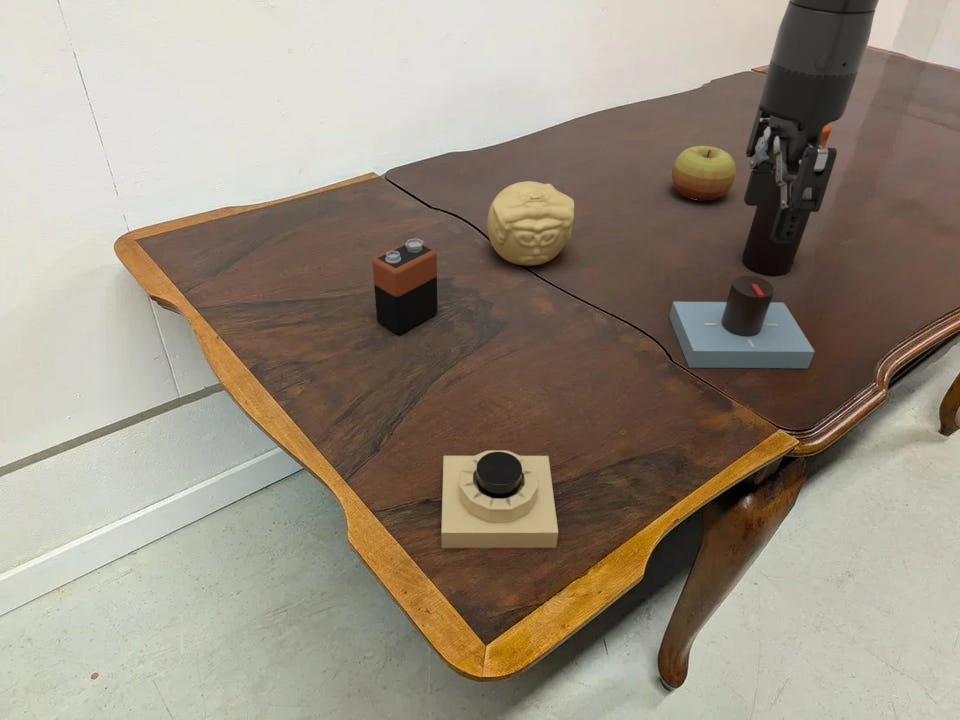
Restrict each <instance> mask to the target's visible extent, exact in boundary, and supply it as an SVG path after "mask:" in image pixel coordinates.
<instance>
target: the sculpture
mask: <svg viewBox="0 0 960 720" xmlns="http://www.w3.org/2000/svg"><path fill="white" fill-rule="evenodd" d="M491 202H492V203H491V204H490V207H489V209H488V213H487V220H486V223H487V224H486V226H487V235H488V238H489V241H490V244H491V246H492V248H493V249H494V251H495V252H496V253H497V254H498V255H499V256H500V257H501V258H502V259H503V260H505V261H507V262H509V263H511V264H514V265H520V266H530V267H532V266H533V267H534V266H538V265H539V266H540V265H543V264H545V263H548V262H550V261H552V260H553V259H554V258H556V256H558V255H559V254H560V252H561V251H562V250H563V248H564V247H565V246H566V244H567V242H568V241H570V240H571V238H572V233H573V232H572V229H573V227H574V219H575V201H574V199H573V198H572V197H570V196H568V195H567V194H564V193H563V192H561V191H560V190H557V188H555V187H554V186H553V185H552V184H551V183H542V182H538V181H531V180H530V181H519V182H515V183H512V184H510V185H508V186H506V187H505V188H503V189H502V190H501V191H500V192H499V193H498V194H497V195H496V196H495V197H494V199H493V200H492V201H491Z"/></svg>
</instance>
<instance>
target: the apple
mask: <svg viewBox="0 0 960 720" xmlns="http://www.w3.org/2000/svg"><path fill="white" fill-rule="evenodd" d="M736 172H737V167H736V163H735V161H734V159H733V157H732V155H731V154H729V153H728V152H727V151H725V150H723V149H721V148H718V147H715V146H710V145H696V146H690V147H688V148H686V149H684V150H683V151H681V153H679V154H678V156H677V157H676V159H675V160H674V162H673V165H672V168H671V179H672V183H673V186H674V188H675V190H677V191H678V192H679V194H680V195H682V196H683V197H685V196H686V197H685V198H687V197H689V198H693V199H697V200H710V201H713V200H716V198H717V199H719V198H721V197H722V196H724V195H725V194H726V193H727V192H729V190H730V189H731V188H732V186H733V184H734V182H735V177H736ZM689 198H688V199H689ZM693 199H692V200H693ZM697 200H696V201H697Z"/></svg>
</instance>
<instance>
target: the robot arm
mask: <svg viewBox="0 0 960 720" xmlns="http://www.w3.org/2000/svg"><path fill="white" fill-rule="evenodd" d="M879 2H880V0H788V4H787V7H786V9H785V12H784V15H783V16H782V19H781V21H780V25H779V28H778V31H777V34H776V37H775V42H774V44H773V45H774V46H773V49H772V52H771V58H770V61H769V64H768V69H767V72H766V76H765V80H764V84H763V88H762V90H761V91H762V92H761V95H760V99H759V104H758V107H757V112H756V114H755V118H754V122H753V125H752V129H751V131H750V132H751V133H750V134H749V135H750V136H749V139H748V144H747V146H746V150H745V156H746V157H747V158H750V160H749V169H750V170H751V171H750V175H749V179H748V182H747V186H746V190H745V193H744V197H743V201H744V203H745V204H746V205H747V206H749V207H757V206H762V205H764V204H765V203H766V200H767V197H768V193H769V190H770V187H771V183H772V180H773V176H774V173H773V172H772V171H771V170H774V169H775V168H776V184H777V185H778V186H780V188H781V199H780V206H779V209H778V212H777V215H776V219H775V222H774V225H773V228H772V232H771V235H770V239H771V240H772V241H773V243H775V244H790V243H792V242H793V241H794V240H795V237H796V234H797V231H798V228H799V225H800V222H801V219H802V216H803V213H804V212H811V213H818V212H819V211H820V210H821V207H822V204H823V200H824V197H825V194H826V191H827V187H828V185H829V181H830V177H831V174H832V171H833V168H834V165H835V162H836V158H837V154H838V151H837V148H836V147H822V146H821V139H822V132H823V128H824V127H825V126H826V125H827V124H828V125H830V124H831V123H835V122H837V121H838V120H840V119H841V118H842V117H843V116H844V115H845V111H846V109H847V105H848V103H849V100H850V97H851V94H852V91H853V88H854V85H855V82H856V79H857V76H858V74H859V70H860V67H861V64H862V61H863V59H864V55H865V52H866V50H867V46H868V45H869V41H870V36H871V32H872V27H873V22H874V17H875V14H876V9H877V7H878V4H879ZM759 139H760V140H759ZM788 173H798V174H797V175H790V174H788ZM791 186H794V189H793V192H792V196H791ZM811 188H815V189H814V192H813V195H812V198H811Z"/></svg>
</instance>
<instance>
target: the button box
mask: <svg viewBox="0 0 960 720" xmlns="http://www.w3.org/2000/svg"><path fill="white" fill-rule="evenodd" d="M492 452H505V453H509V454H511V455H513V456H515V457H516V458H517V459H518V460H519V462H520V463H521V466H522V479H521V486H520V488H519V490H518V491H517V492H516V493H515V494H514V495H512V496H510V497H507V498H492V497H489V496H487V495H485V494H484V493H482V492H481V491H480V490H479V488H478V486H477V483H476V468H477V463H478V461H479V460H480V459H481V458H482V457H483V456H484V455H486V454H488V453H492ZM442 461H443V463H442V492H441V493H442V495H441V530H440V534H441V536H440V537H441V549H557V545H558V537H559V527H558V519H557V511H556V505H555V504H556V503H555V502H556V501H555V497H554V496H555V494H554V489H553V488H554V487H553V481H552V473H551V464H550V457H549V455H519V454H517V453H515V452H512V451H510V450H507V449H506V450H505V449H503V450H499V449H497V450H494V449H493V450H491V449H490V450H485V451H482V452H479V453H478V454H476V455H443V460H442Z"/></svg>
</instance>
